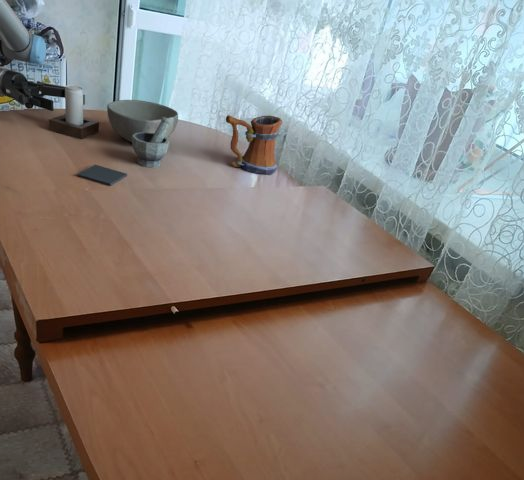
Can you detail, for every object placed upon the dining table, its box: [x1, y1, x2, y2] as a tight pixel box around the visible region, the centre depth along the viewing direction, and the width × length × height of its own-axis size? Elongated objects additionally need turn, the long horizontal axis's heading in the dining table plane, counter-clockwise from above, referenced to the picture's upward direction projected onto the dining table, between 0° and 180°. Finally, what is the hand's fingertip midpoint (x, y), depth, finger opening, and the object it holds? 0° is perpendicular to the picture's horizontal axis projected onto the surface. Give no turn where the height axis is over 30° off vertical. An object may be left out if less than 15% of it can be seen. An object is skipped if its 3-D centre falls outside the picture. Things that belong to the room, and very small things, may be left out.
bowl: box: [106, 99, 179, 143], centre depth 161 cm, size 20×20×10 cm
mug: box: [225, 114, 283, 175], centre depth 159 cm, size 18×12×15 cm, turn 113°
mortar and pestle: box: [131, 117, 171, 169], centre depth 147 cm, size 11×9×12 cm
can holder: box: [48, 113, 100, 140], centre depth 159 cm, size 10×10×3 cm
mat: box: [76, 164, 128, 187], centre depth 137 cm, size 9×9×1 cm
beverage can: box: [64, 84, 84, 126], centre depth 157 cm, size 5×5×12 cm
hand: (68, 102), depth 156 cm, fingers open, 13 cm apart
